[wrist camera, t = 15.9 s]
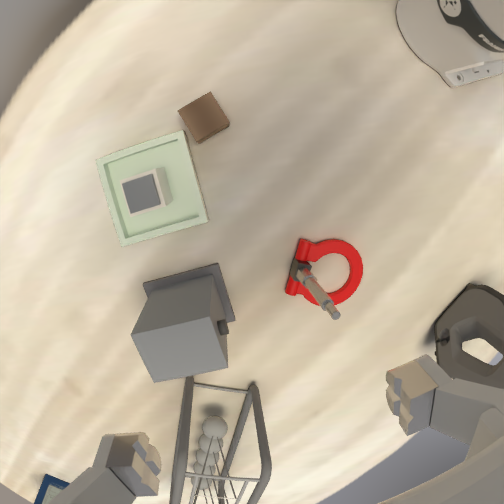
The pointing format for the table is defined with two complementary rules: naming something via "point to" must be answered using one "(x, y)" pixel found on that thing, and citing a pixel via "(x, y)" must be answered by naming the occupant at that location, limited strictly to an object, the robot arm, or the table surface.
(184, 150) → the tray
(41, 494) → the protein box
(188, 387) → the newton's cradle
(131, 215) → the block
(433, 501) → the robot arm
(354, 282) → the tow hook
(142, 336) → the control box
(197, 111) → the walnut block
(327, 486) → the table surface
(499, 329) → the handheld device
